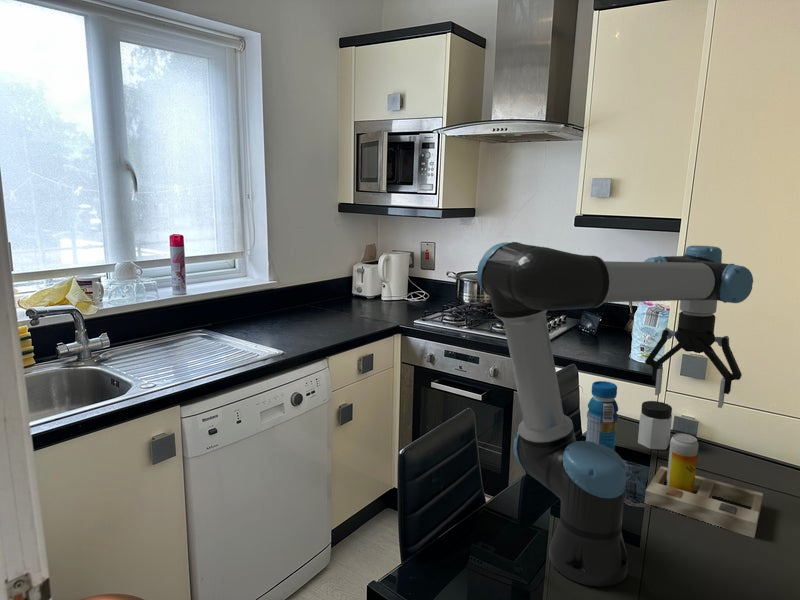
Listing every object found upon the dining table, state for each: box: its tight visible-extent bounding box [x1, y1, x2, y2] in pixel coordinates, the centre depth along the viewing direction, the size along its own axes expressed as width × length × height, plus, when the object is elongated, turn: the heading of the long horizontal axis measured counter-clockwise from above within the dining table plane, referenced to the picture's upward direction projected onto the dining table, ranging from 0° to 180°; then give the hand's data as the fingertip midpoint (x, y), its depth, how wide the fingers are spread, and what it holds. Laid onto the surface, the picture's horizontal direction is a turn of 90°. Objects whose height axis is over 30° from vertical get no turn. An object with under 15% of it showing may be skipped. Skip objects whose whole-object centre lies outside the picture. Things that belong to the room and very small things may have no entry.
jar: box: [637, 400, 673, 451], centre depth 166 cm, size 9×8×12 cm
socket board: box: [644, 465, 764, 539], centre depth 134 cm, size 22×16×4 cm
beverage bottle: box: [585, 380, 619, 452], centre depth 161 cm, size 8×8×20 cm
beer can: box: [666, 432, 700, 494], centre depth 138 cm, size 6×6×15 cm
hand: (688, 399), depth 134 cm, fingers open, 13 cm apart
